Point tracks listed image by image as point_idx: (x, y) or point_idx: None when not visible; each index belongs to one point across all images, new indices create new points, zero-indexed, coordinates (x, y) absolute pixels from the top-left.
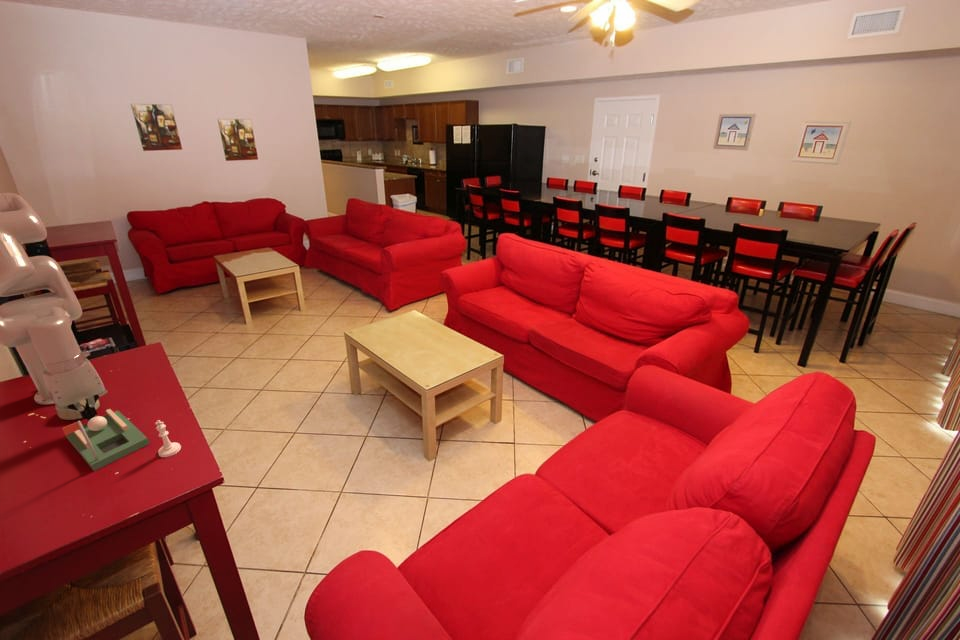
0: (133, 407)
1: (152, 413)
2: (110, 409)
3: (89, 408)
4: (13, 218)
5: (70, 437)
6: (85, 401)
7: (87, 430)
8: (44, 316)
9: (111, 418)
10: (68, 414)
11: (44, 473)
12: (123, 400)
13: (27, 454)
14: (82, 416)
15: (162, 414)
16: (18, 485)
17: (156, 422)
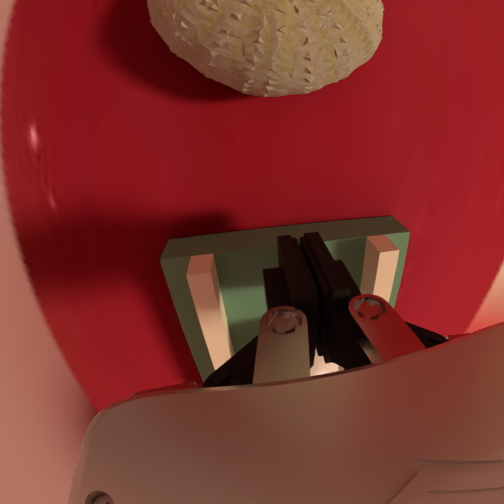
0: (444, 187)
1: (443, 287)
2: (396, 262)
3: (327, 361)
4: None
5: (185, 318)
6: (335, 34)
7: (253, 316)
8: None
9: (360, 290)
10: (197, 62)
11: (125, 373)
12: (442, 79)
13: (53, 248)
14: (267, 308)
15: (447, 312)
16: (82, 370)
17: None
